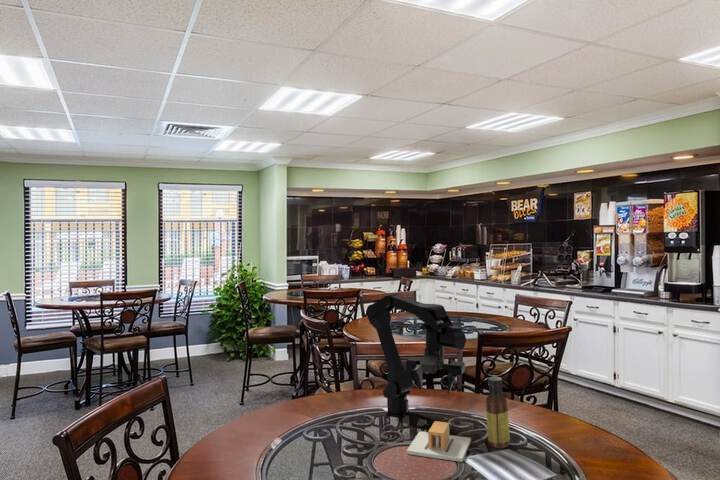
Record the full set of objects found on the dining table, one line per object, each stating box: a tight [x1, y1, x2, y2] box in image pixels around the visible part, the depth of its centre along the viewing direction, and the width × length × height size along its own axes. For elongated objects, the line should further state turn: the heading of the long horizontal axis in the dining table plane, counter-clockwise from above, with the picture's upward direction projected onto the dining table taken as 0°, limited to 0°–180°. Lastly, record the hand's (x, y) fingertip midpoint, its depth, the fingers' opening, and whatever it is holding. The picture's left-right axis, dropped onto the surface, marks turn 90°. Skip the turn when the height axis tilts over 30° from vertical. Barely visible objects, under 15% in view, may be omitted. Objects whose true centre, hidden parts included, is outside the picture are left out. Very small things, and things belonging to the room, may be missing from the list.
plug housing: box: [427, 420, 450, 451], centre depth 149 cm, size 8×4×5 cm, turn 158°
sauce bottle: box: [485, 376, 511, 449], centre depth 150 cm, size 7×6×20 cm
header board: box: [406, 431, 472, 463], centre depth 149 cm, size 16×14×5 cm
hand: (434, 391), depth 165 cm, fingers open, 9 cm apart
